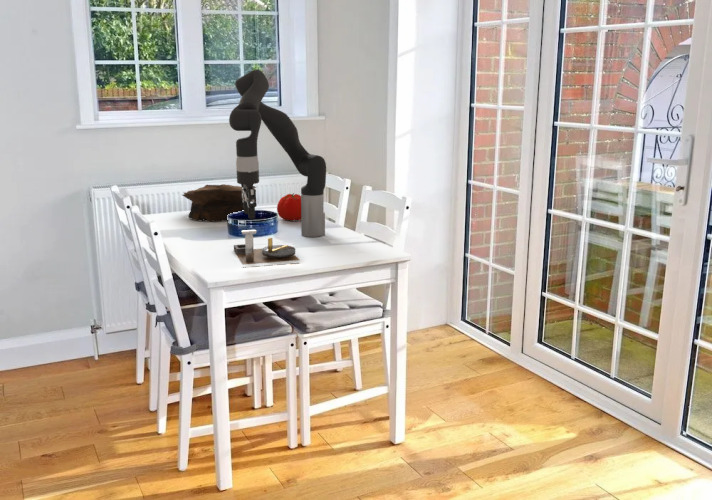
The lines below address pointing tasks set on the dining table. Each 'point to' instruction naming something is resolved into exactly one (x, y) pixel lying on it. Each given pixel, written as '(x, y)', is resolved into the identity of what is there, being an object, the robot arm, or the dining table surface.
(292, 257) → the board
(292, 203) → the tomato
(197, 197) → the brown irregular lump
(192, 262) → the dining table surface
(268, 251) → the handwheel
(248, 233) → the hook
